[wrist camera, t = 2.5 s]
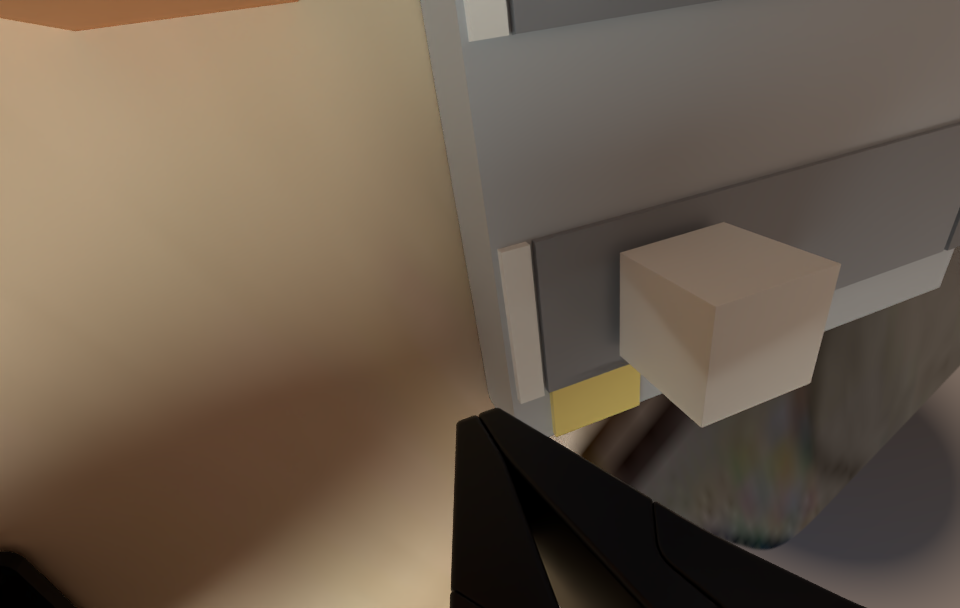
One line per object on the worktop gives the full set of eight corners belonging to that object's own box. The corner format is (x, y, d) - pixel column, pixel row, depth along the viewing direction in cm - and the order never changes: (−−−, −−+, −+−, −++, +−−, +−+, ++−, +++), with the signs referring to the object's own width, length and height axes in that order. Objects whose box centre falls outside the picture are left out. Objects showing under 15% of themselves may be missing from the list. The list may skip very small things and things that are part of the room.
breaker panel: (869, 263, 19) (946, 289, 17) (489, 396, 16) (522, 454, 13) (1039, -320, 12) (1225, -418, 9) (361, -338, 8) (387, -509, 5)
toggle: (711, 322, 13) (810, 383, 11) (619, 355, 12) (701, 427, 10) (723, 222, 12) (841, 263, 9) (620, 252, 11) (715, 306, 8)
